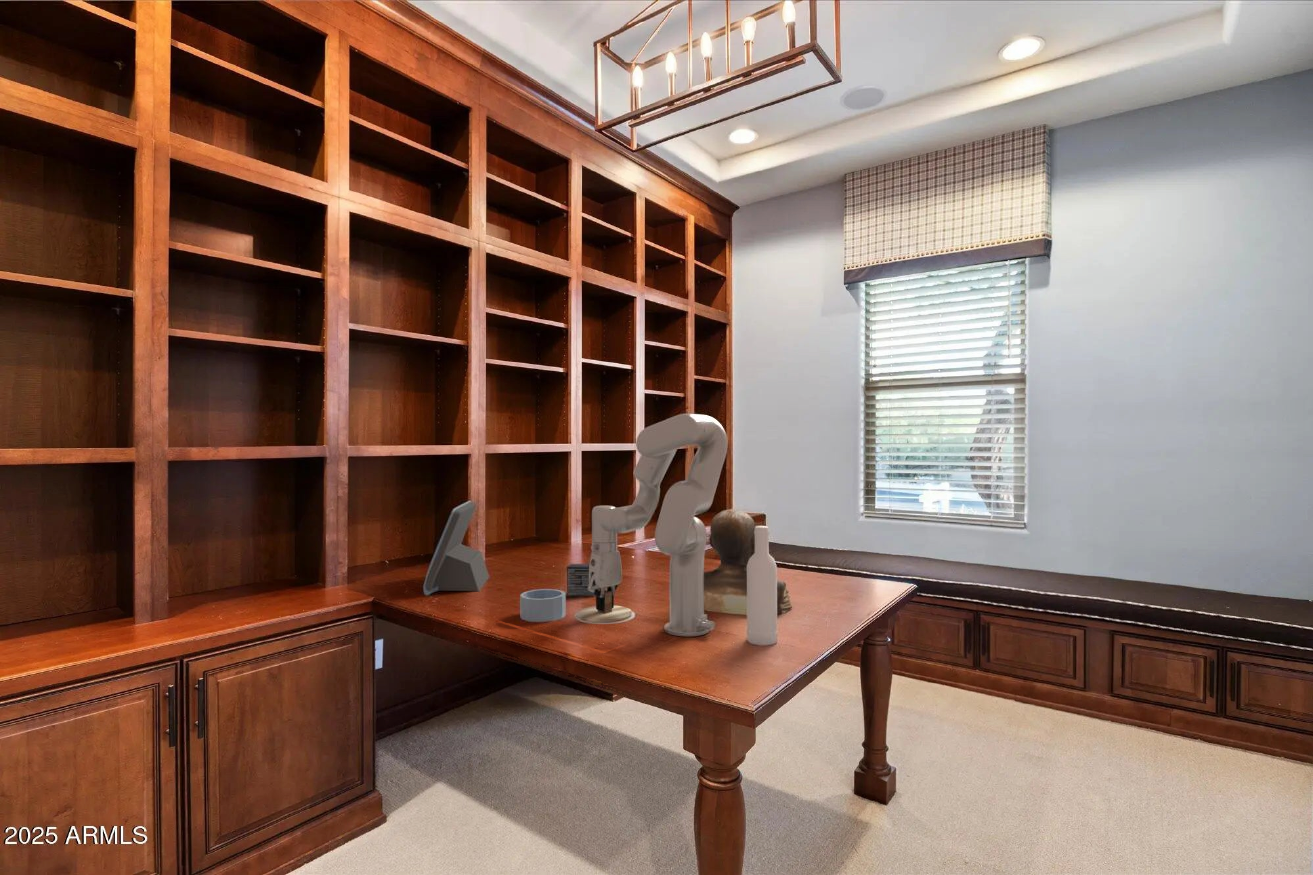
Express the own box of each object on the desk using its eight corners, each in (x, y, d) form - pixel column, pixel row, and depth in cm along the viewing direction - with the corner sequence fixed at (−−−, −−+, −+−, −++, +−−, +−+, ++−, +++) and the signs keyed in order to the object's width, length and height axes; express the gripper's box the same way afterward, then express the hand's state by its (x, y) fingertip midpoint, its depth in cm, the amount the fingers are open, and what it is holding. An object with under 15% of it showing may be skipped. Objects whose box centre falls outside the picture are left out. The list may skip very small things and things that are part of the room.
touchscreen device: (440, 575, 254) (443, 499, 254) (491, 575, 256) (494, 500, 256) (417, 596, 219) (421, 508, 219) (476, 596, 221) (479, 509, 222)
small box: (600, 593, 222) (600, 563, 223) (597, 598, 216) (597, 566, 216) (570, 593, 223) (570, 562, 224) (566, 597, 217) (566, 566, 217)
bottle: (756, 634, 174) (756, 523, 175) (782, 640, 169) (782, 526, 170) (741, 641, 168) (740, 526, 168) (767, 647, 163) (767, 529, 163)
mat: (647, 616, 193) (647, 614, 193) (605, 629, 179) (605, 627, 179) (604, 606, 205) (604, 604, 205) (561, 618, 191) (561, 616, 191)
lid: (642, 614, 193) (642, 590, 193) (605, 625, 181) (604, 600, 181) (604, 605, 203) (604, 583, 203) (566, 616, 191) (566, 592, 191)
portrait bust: (779, 620, 189) (779, 514, 189) (672, 606, 205) (671, 509, 205) (798, 603, 208) (797, 508, 208) (698, 592, 224) (697, 503, 224)
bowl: (574, 616, 193) (574, 593, 193) (540, 626, 183) (539, 601, 183) (545, 609, 201) (545, 587, 201) (511, 618, 191) (511, 594, 191)
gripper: (593, 552, 184) (594, 616, 183) (632, 545, 196) (632, 605, 196) (575, 549, 188) (576, 612, 188) (614, 542, 201) (614, 601, 201)
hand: (604, 608), depth 192 cm, fingers closed on lid, 3 cm apart
